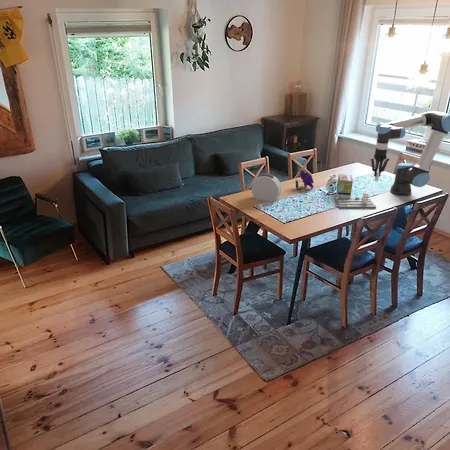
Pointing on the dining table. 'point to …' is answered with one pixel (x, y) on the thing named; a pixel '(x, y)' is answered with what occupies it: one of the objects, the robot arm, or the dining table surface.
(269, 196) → the alarm clock
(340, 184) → the tea box
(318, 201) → the dining table surface
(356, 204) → the console
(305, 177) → the flower
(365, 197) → the fader
